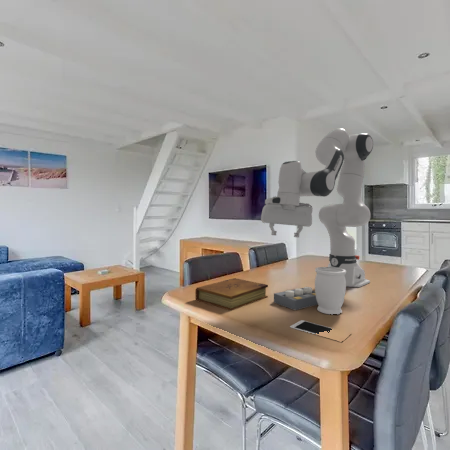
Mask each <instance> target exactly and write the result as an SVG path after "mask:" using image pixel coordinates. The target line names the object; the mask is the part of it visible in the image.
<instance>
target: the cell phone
mask: <svg viewBox="0 0 450 450" xmlns="http://www.w3.org/2000/svg"><path fill="white" fill-rule="evenodd" d="M289 328H291V329H293V330H297V331H301V332H303V331H304V332H303V333H307V332H308V333H307V334H310V333H312V334H311V335H313V334H316V333H317V334H319V332H324V331H327V332H328V331H329V332H330V330H332V329H331V328H332V327H330V326H325V325H322V324H318V323H315V322H310V321H307V320H304V319H303V320H302V319H301V320H299V321H297V322H296V323H293V324H292V325H290V326H289ZM329 332H328V333H329Z"/></svg>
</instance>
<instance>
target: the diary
mask: <svg viewBox="0 0 450 450" xmlns="http://www.w3.org/2000/svg"><path fill="white" fill-rule="evenodd" d="M268 285H269V284H265V283H259V282H255V281H252V280H251V281H250V280H246V279H240V278H236V277H235V278H230V279H229V278H228V279H225V280H221V281H218V282H213V283H210V284H206V285H201V286H198V287H196V288H195V292H194V293H195V301H198V302H201V303H204V304H208V305H211V306H215V307H217V308H221V309H224V310H228V311H234V310H237V309H239V308H241V307H242V308H243V307H245V306H248V305H250V304H254V303H256V302H258V301H261V300H263V299H266V298H268V295H267V294H266V289H267V288H269V286H268Z"/></svg>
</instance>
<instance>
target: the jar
mask: <svg viewBox="0 0 450 450" xmlns="http://www.w3.org/2000/svg"><path fill="white" fill-rule="evenodd" d="M314 269H315V273H316V275H315V279H314V291H315V293H316V299H317V303H318V306H317V311H318V312H320V313H322V314H324V315H330V314H331V315H333V314H337V315H340V313H341V314H342V313H343V310H342V306H343V304H344V302H345V295H346V290H347V286H346V280H345V276H344V275H345V274H346V270H344V269H341V268H335V267H328V266H317V267H315V268H314ZM331 315H330V316H331ZM333 316H334V315H333Z"/></svg>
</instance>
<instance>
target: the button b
mask: <svg viewBox="0 0 450 450" xmlns="http://www.w3.org/2000/svg"><path fill="white" fill-rule="evenodd" d="M303 288H304V293H307V294H311V293H312V291H313V287H312V286H311V287H310V286H304V287H303Z"/></svg>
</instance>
